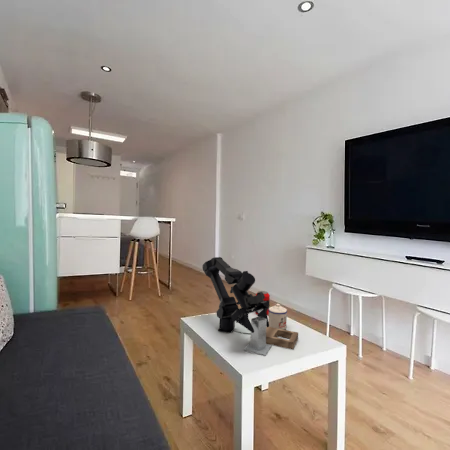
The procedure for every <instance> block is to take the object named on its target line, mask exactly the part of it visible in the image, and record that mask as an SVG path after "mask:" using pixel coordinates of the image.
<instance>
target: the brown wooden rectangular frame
mask: <svg viewBox="0 0 450 450" xmlns="http://www.w3.org/2000/svg"><path fill="white" fill-rule="evenodd" d="M298 340H299V331H298V332H297V331H291V330H287V329H285V330H283V329H278V328H272V327H267V326H266V344H268V345H272V346H275V347H280V348H283V349H284V348H285V349H289V350H294V348H295V347H296V345H297V343H298Z"/></svg>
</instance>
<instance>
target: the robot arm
mask: <svg viewBox="0 0 450 450" xmlns="http://www.w3.org/2000/svg"><path fill="white" fill-rule="evenodd" d="M202 270H203V272H204V274H205V276H206V277H208V278H210V280H211V283H212V285H213V288H214V290H215V293H216V295H217V297H218V300H219V304H218V309H217V310H216V311H215V312H216V317H217V318H218V319H219V328H218V329H217V331H218V332H223V333H230V334H232V332H233V331H234V330H235V328H236V323H237V324H240V325H241V326H242V327H244V328H246V329H247V330H248V331H249V332H250V333H251V332H252V333H254V329H253V327H252V325H251V321H250V318H249V314H253V313H255V312H256V313H258V314H256V313H255V314H256V317H258V316H260V317H263V318H266V319H267V325H266V327H269V316H268V315H267V310H268V309H269V308H270V307H271V306H270V302H269V303H268V302H267V301H264V300H263V299H265V296H264V294H263V293H262V292H259V293H257V292H256V294H257V295H256V294H255V295H253V294H252V293H249V292H248V291H250V289H251V287H252V286H253V285H254V284H255V282H256V278H255V276H254V275H253V274H251V273H249V272H248V270H244V271H243V272H242V271H241V270H239V269H238V268H234V267H231V266H230V265H229V264H228V263H227V262H226V261H225V260H224V259H223V257H220V256H218V257H217V256H216V257H215V256H214V257H212V258H211V259H209V260H207V261H205V262H204V263H203V264H202ZM220 273H221V274H223V275H224V281H225V282H226V283H227V284H228V285H233V286H230V290H229V292H230V294H233V296H229V292H228V291H227V289H226V286H225V285H224V282H223V280H222V278H221V275H220ZM236 300H237V301H236ZM259 302H260V303H259ZM258 303H259V304H258ZM257 304H258V305H257ZM239 305H240V308H239ZM256 305H257V306H256Z"/></svg>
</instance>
